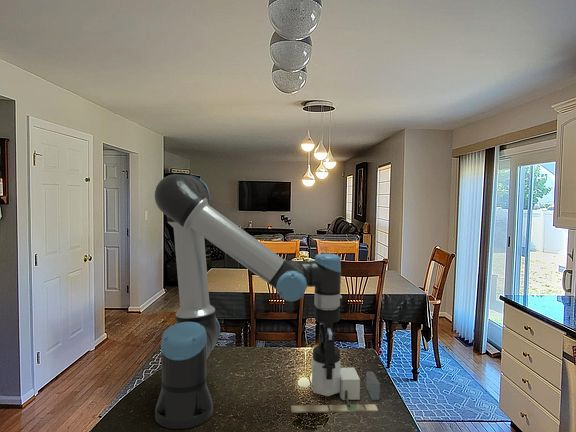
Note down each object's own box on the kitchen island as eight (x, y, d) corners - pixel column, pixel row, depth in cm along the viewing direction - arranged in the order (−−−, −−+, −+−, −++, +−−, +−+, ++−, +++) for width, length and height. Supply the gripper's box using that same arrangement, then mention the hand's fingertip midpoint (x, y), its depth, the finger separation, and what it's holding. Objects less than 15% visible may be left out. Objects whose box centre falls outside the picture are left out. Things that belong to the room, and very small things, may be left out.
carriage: (344, 408, 116) (344, 387, 116) (336, 386, 129) (336, 367, 129) (363, 407, 117) (363, 387, 116) (353, 386, 129) (354, 367, 129)
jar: (322, 399, 119) (323, 358, 118) (305, 387, 126) (306, 348, 125) (346, 390, 124) (347, 351, 123) (328, 380, 131) (329, 342, 130)
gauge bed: (291, 412, 114) (291, 411, 114) (290, 407, 117) (290, 405, 117) (378, 411, 116) (378, 409, 116) (375, 405, 119) (375, 404, 119)
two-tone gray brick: (372, 400, 122) (373, 383, 121) (366, 387, 130) (366, 371, 129) (379, 400, 122) (379, 383, 121) (372, 387, 130) (372, 371, 129)
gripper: (347, 318, 112) (345, 399, 114) (333, 297, 134) (332, 365, 136) (319, 318, 112) (317, 399, 114) (310, 297, 134) (309, 365, 135)
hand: (325, 381), depth 125 cm, fingers closed on jar, 9 cm apart
